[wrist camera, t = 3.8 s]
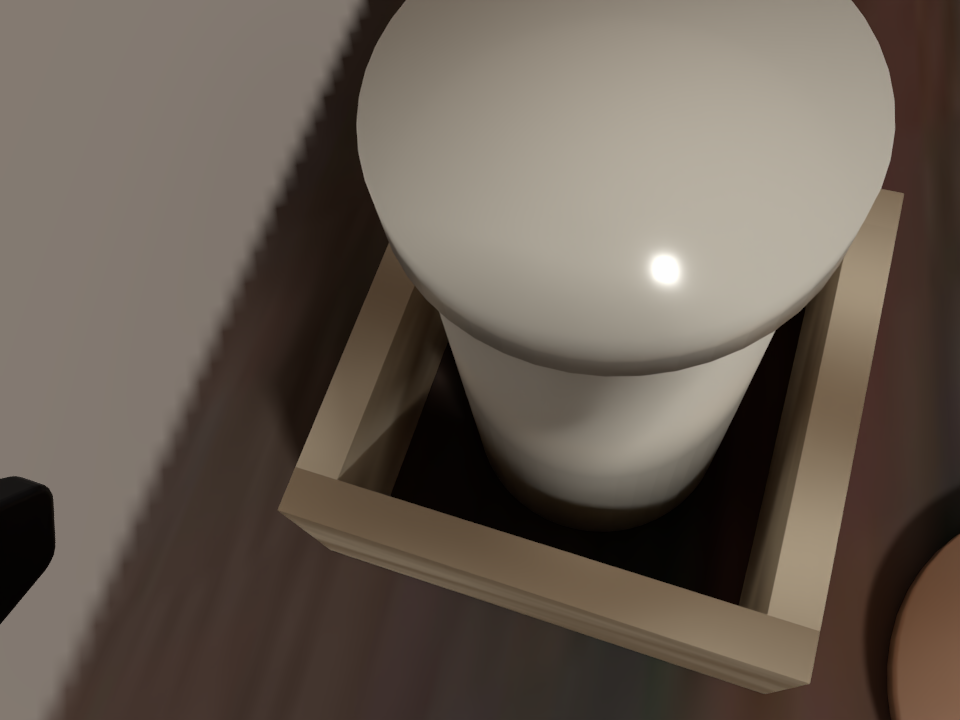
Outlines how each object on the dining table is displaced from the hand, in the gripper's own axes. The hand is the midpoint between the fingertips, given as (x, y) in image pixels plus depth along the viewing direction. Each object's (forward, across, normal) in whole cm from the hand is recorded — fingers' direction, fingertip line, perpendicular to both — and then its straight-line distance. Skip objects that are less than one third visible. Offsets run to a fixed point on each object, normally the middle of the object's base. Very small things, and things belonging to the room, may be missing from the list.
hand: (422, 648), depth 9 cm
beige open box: (+15, 0, +4) cm, 15 cm away
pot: (+15, 0, +4) cm, 16 cm away
